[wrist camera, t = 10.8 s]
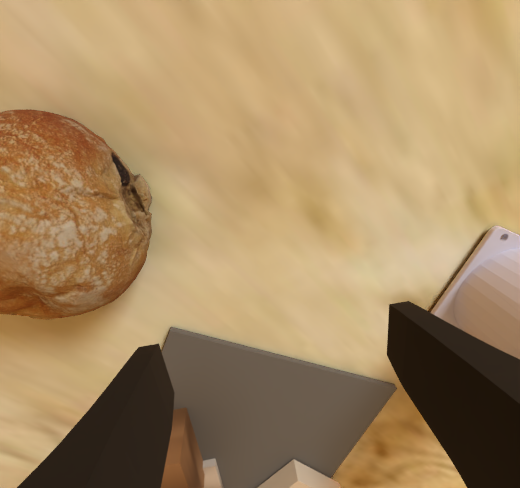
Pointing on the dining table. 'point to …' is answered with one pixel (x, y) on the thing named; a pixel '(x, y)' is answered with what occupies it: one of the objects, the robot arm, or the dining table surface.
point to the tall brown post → (187, 458)
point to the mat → (267, 407)
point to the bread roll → (66, 218)
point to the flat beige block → (299, 478)
